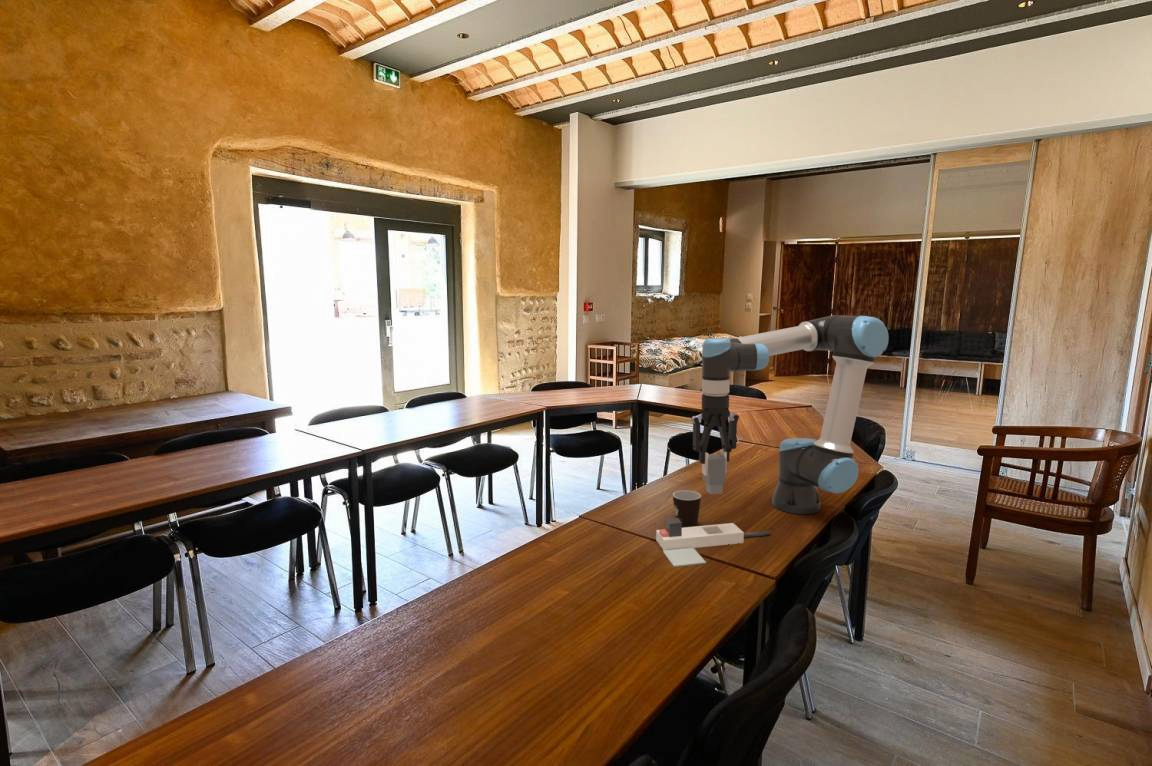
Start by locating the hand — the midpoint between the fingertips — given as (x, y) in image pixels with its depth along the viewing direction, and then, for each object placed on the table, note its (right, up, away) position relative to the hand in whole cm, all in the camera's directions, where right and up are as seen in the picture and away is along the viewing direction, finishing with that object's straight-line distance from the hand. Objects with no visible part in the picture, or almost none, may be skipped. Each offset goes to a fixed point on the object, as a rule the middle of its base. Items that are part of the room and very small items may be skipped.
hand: (714, 473), depth 162 cm
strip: (+1, -20, +3) cm, 20 cm away
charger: (0, -5, +1) cm, 6 cm away
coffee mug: (-5, -18, +15) cm, 25 cm away
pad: (-10, -22, -7) cm, 25 cm away
